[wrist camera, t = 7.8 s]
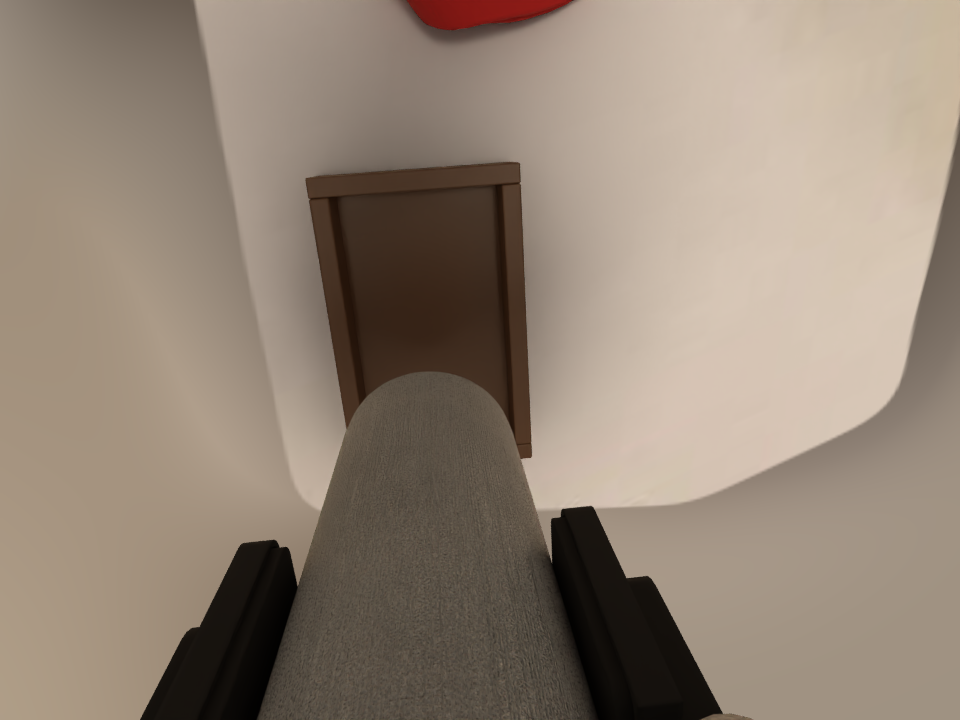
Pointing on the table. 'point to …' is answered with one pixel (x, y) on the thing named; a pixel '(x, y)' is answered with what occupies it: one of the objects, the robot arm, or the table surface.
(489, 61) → the table surface
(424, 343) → the shelf tray
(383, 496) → the gray hollow tube
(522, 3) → the tracker holder
